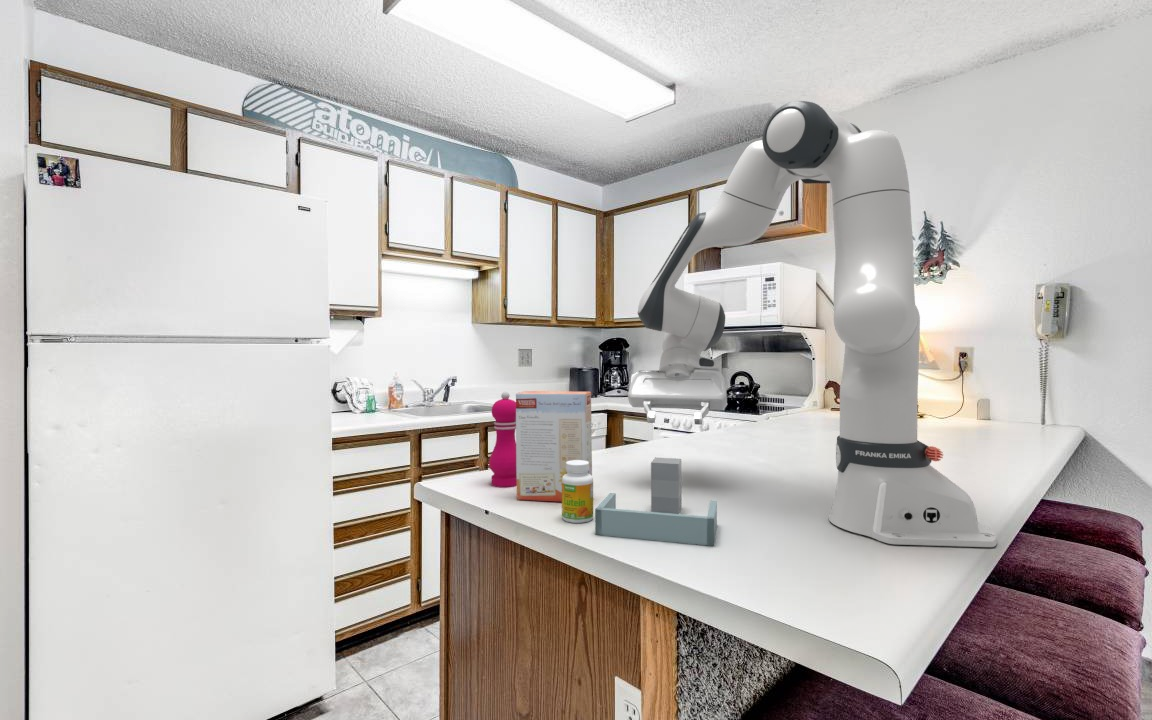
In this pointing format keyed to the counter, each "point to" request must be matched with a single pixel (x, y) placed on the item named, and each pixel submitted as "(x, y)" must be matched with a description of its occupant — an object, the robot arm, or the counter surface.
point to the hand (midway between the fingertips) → (674, 421)
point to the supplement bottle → (577, 492)
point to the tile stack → (666, 485)
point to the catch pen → (655, 524)
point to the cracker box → (550, 440)
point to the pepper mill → (504, 443)
